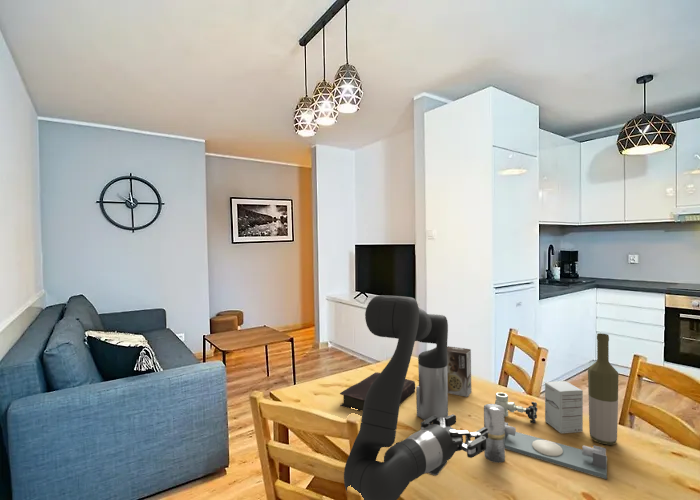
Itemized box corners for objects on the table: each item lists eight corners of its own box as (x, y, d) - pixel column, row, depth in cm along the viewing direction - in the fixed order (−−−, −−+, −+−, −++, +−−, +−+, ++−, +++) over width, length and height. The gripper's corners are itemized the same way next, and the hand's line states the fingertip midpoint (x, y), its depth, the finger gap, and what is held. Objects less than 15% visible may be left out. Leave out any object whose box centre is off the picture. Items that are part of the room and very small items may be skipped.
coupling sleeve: (481, 458, 94) (481, 409, 94) (487, 449, 98) (486, 402, 98) (502, 465, 91) (501, 414, 91) (507, 455, 95) (506, 406, 95)
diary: (416, 393, 137) (416, 380, 137) (384, 421, 116) (384, 405, 116) (373, 382, 147) (373, 370, 147) (337, 406, 127) (337, 392, 127)
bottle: (609, 450, 97) (609, 339, 96) (582, 437, 103) (582, 333, 102) (624, 443, 100) (623, 335, 99) (597, 431, 106) (596, 330, 106)
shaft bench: (492, 444, 100) (492, 429, 100) (500, 430, 108) (499, 416, 107) (606, 479, 85) (606, 461, 85) (607, 460, 92) (606, 443, 92)
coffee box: (472, 391, 136) (471, 348, 136) (467, 397, 131) (467, 353, 130) (448, 386, 141) (447, 345, 141) (443, 392, 136) (442, 349, 135)
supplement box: (544, 421, 112) (543, 381, 112) (566, 420, 113) (566, 380, 113) (560, 434, 105) (559, 391, 105) (583, 432, 106) (583, 389, 106)
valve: (492, 416, 116) (533, 428, 109) (492, 396, 116) (532, 406, 109) (498, 409, 122) (537, 419, 114) (498, 389, 122) (537, 398, 114)
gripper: (455, 445, 71) (497, 419, 82) (402, 419, 82) (445, 399, 93) (455, 483, 71) (498, 452, 82) (402, 452, 82) (445, 429, 93)
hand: (469, 424), depth 87 cm, fingers open, 8 cm apart
